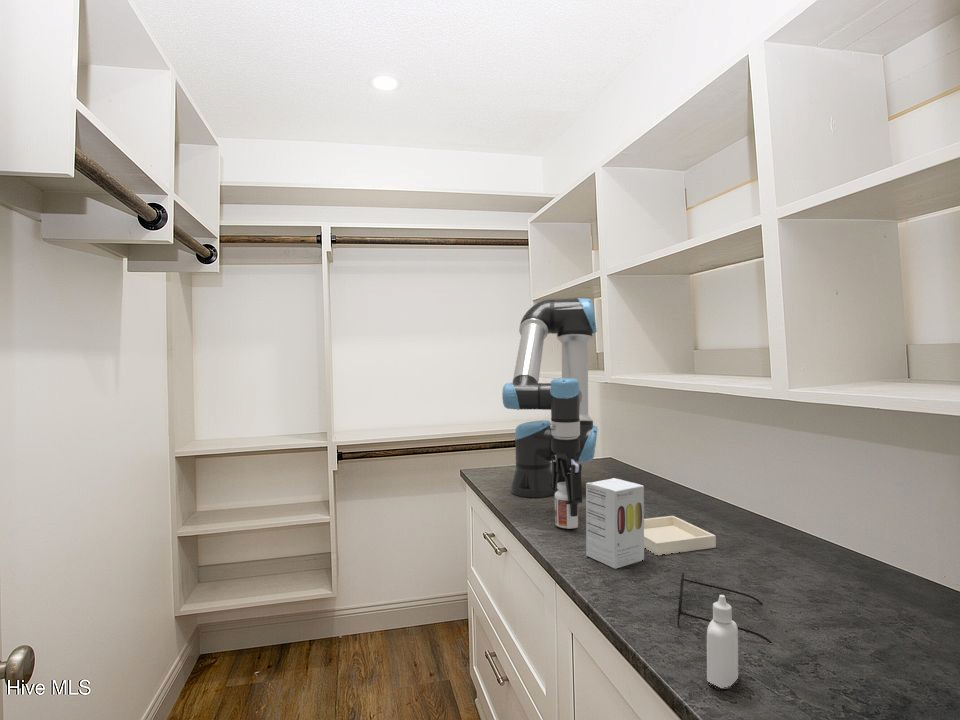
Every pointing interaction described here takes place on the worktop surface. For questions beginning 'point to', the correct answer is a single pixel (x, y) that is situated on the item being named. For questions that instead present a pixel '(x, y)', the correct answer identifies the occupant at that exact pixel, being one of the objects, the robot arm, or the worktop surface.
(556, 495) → the pill bottle
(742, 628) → the glasses
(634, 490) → the supplement box
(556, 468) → the robot arm
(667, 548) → the tray
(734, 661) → the eye dropper bottle
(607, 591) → the worktop surface
